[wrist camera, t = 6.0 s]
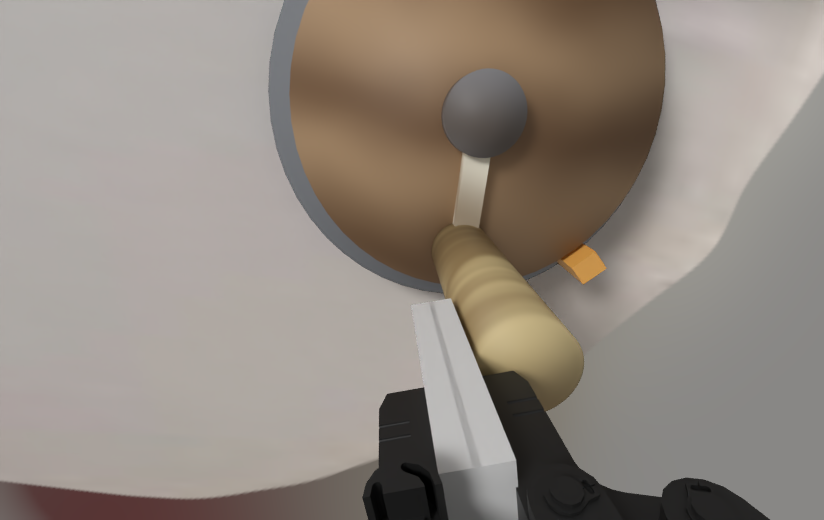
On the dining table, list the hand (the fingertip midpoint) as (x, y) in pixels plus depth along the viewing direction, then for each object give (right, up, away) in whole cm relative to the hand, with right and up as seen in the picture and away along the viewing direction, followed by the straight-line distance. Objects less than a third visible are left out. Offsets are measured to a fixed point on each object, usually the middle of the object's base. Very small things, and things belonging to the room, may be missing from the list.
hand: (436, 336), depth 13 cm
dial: (+2, +10, +6) cm, 12 cm away
